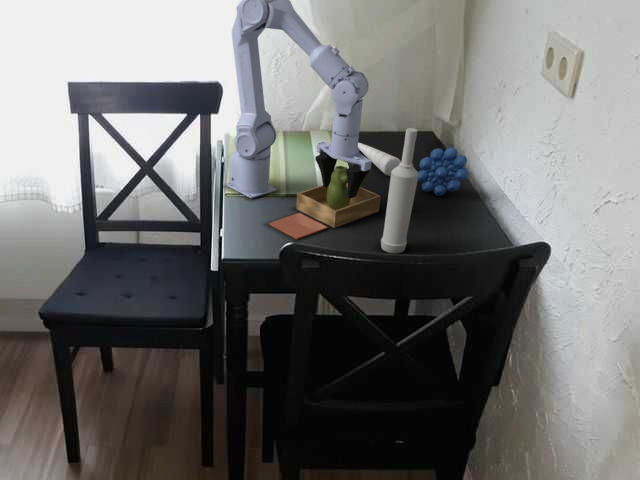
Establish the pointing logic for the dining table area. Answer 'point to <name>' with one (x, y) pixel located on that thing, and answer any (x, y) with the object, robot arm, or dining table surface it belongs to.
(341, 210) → the wooden shallow box
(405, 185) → the bottle
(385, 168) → the unicorn horn
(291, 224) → the coaster
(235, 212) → the dining table surface
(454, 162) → the blue knobbed flower
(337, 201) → the pear
